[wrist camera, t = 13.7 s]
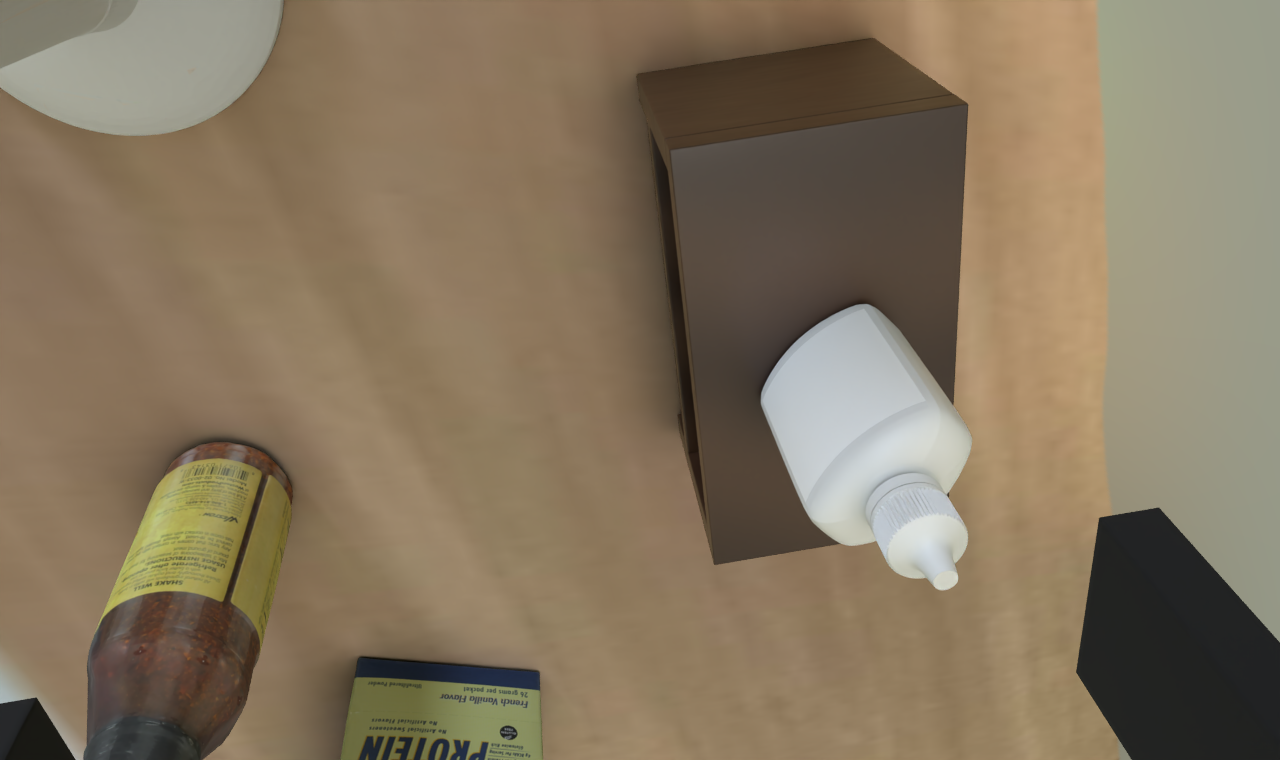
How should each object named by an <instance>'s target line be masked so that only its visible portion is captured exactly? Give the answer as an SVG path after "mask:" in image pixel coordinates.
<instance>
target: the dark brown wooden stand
mask: <svg viewBox="0 0 1280 760" xmlns="http://www.w3.org/2000/svg"><path fill="white" fill-rule="evenodd" d="M636 77H637V85H638V93H639V101H640V104H641V106H642V109H643V111H644V113H645V116H646V118H647V127H648V135H649V144H650V152H651V161H652V169H653V177H654V186H655V194H656V203H657V211H658V220H659V228H660V236H661V245H662V253H663V262H664V270H665V279H666V287H667V295H668V304H669V312H670V321H671V329H672V337H673V346H674V354H675V363H676V371H677V380H678V388H679V396H680V405H681V414H678V423H679V431H680V436H681V440H682V444H683V448H684V451H685V455H686V459H687V463H688V467H689V470H690V474H691V478H692V482H693V486H694V490H695V493H696V497H697V501H698V505H699V509H700V512H701V516H702V520H703V524H704V528H705V532H706V535H707V539H708V543H709V547H710V551H711V555H712V558H713V562H714V565H717V564H723V563H729V562H735V561H741V560H747V559H753V558H759V557H765V556H771V555H777V554H783V553H788V552H794V551H800V550H806V549H812V548H818V547H824V546H830V545H836V544H841V543H839V542H837V541H835V540H834V539H832V538H831V537H829V536H828V535H827V534H825V533H824V532H823V531H822V530H820V529H819V528H818V527H817V526H816V525H815V524H814V523H813V522H812V521H811V519H810V517H809V516H808V514H807V512H806V511H805V509H804V507H803V504H802V502H801V500H800V498H799V496H798V493H797V491H796V489H795V486H794V484H793V482H792V479H791V477H790V474H789V472H788V470H787V467H786V465H785V462H784V460H783V458H782V455H781V453H780V450H779V448H778V445H777V443H776V441H775V438H774V436H773V433H772V431H771V428H770V426H769V423H768V421H767V418H766V416H765V414H764V411H763V409H762V406H761V393H762V390H763V387H764V385H765V383H766V381H767V379H768V377H769V375H770V374H771V372H772V370H773V369H774V367H775V366H776V364H777V363H778V361H779V360H780V359H781V357H782V356H783V355H784V354H785V353H786V351H787V350H788V349H789V348H790V347H791V346H792V345H793V344H794V343H795V342H796V341H797V340H798V339H799V338H800V337H801V336H803V335H804V334H805V333H806V332H807V331H809V330H810V329H811V328H813V327H814V326H816V325H817V324H819V323H820V322H822V321H823V320H825V319H827V318H828V317H830V316H832V315H834V314H836V313H838V312H840V311H842V310H844V309H847V308H849V307H852V306H855V305H859V304H868V305H871V306H873V307H875V308H877V309H878V310H879V311H880V312H881V313H883V314H884V315H885V316H886V317H887V318H888V319H889V320H890V321H891V322H892V323H893V324H894V325H895V326H896V327H897V328H898V329H899V330H900V331H901V333H902V334H903V336H904V337H905V338H906V340H907V341H908V342H909V344H910V345H911V347H912V348H913V349H914V351H915V352H916V354H917V355H918V357H919V358H920V359H921V361H922V362H923V364H924V365H925V366H926V368H927V369H928V371H929V372H930V373H931V375H932V376H933V378H934V379H935V380H936V382H937V383H938V385H939V386H940V388H941V389H942V390H943V392H944V393H945V395H946V396H947V397H948V399H949V400H950V402H951V403H952V405H953V402H954V382H955V362H956V341H957V321H958V301H959V280H960V260H961V240H962V219H963V199H964V179H965V158H966V138H967V118H968V104H967V103H966V102H965V101H963V100H962V99H960V98H959V97H958V96H956V95H954V94H953V93H951V92H950V91H948V90H947V89H946V88H944V87H943V86H941V85H940V84H938V83H937V82H936V81H934V80H933V79H931V78H930V77H929V76H927V75H926V74H924V73H923V72H921V71H920V70H919V69H917V68H916V67H914V66H913V65H912V64H910V63H909V62H907V61H906V60H904V59H903V58H902V57H900V56H899V55H897V54H896V53H894V52H893V51H892V50H890V49H889V48H887V47H886V46H885V45H883V44H882V43H880V42H879V41H877V40H876V39H874V38H871V39H865V40H858V41H851V42H845V43H838V44H832V45H825V46H819V47H812V48H805V49H799V50H792V51H786V52H779V53H772V54H766V55H759V56H753V57H746V58H739V59H733V60H726V61H720V62H713V63H707V64H700V65H693V66H687V67H680V68H674V69H667V70H660V71H654V72H647V73H641V74H637V76H636ZM947 496H948V498H949V492H948V494H947Z"/></svg>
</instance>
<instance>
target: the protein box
mask: <svg viewBox="0 0 1280 760" xmlns="http://www.w3.org/2000/svg"><path fill="white" fill-rule="evenodd" d="M340 760H543V748H542V720H541V698H540V674H539V672H528V671H516V670H503V669H490V668H478V667H466V666H452V665H442V664H429V663H418V662H401V661H391V660H379V659H368V658H359V659H358V662H357V669H356V674H355V679H354V684H353V689H352V694H351V700H350V705H349V710H348V716H347V722H346V728H345V735H344V741H343V747H342V753H341V759H340Z"/></svg>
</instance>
